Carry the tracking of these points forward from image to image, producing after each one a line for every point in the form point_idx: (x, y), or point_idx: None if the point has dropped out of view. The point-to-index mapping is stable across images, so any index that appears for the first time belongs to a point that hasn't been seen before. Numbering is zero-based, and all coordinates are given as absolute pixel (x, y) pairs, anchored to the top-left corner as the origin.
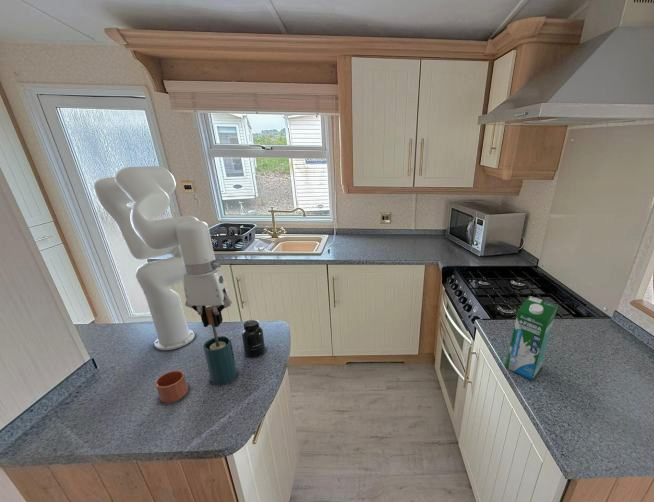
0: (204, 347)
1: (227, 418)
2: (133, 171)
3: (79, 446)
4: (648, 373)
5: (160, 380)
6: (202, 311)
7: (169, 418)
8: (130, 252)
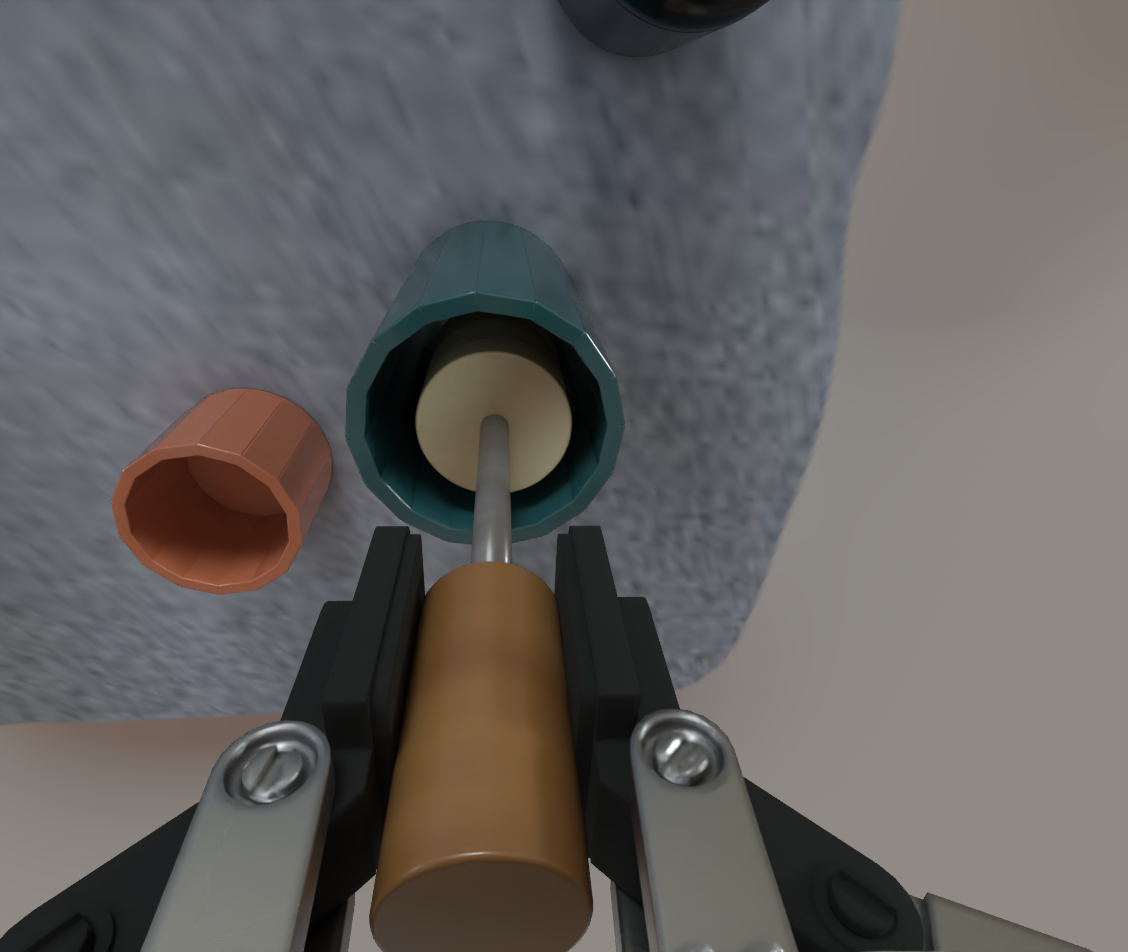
0: (390, 498)
1: (629, 595)
2: None
3: (72, 709)
4: None
5: (138, 508)
6: (346, 928)
7: (351, 595)
8: None
